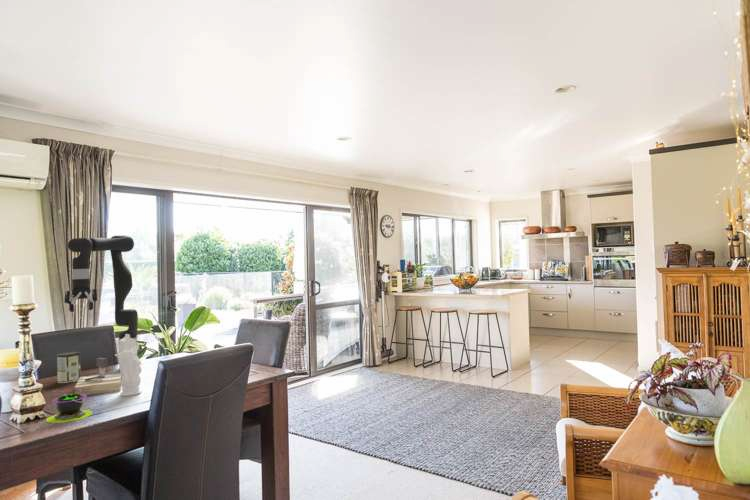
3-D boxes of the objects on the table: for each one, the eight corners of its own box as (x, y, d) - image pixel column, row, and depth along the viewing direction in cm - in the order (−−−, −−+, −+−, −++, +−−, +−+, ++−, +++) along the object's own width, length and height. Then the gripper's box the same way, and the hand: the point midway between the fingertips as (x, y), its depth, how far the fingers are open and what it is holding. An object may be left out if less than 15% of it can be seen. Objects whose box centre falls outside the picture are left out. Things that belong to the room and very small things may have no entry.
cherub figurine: (130, 397, 210) (129, 347, 210) (106, 397, 213) (104, 347, 213) (149, 390, 222) (147, 342, 222) (125, 389, 225) (124, 342, 225)
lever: (101, 376, 235) (100, 357, 236) (108, 377, 232) (107, 358, 232) (81, 380, 227) (81, 361, 228) (88, 381, 224) (88, 362, 225)
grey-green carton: (67, 378, 252) (66, 351, 253) (85, 378, 251) (85, 351, 252) (52, 383, 242) (51, 355, 243) (71, 383, 241) (70, 354, 242)
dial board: (79, 385, 236) (79, 376, 236) (121, 380, 244) (121, 371, 244) (74, 396, 215) (74, 387, 215) (120, 390, 223) (120, 381, 223)
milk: (124, 378, 249) (123, 335, 249) (120, 376, 253) (118, 334, 253) (136, 375, 253) (135, 333, 253) (132, 374, 257) (131, 332, 258)
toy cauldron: (98, 415, 186) (97, 386, 186) (53, 426, 175) (52, 395, 175) (84, 408, 196) (84, 381, 196) (41, 418, 185) (40, 389, 185)
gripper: (91, 277, 247) (92, 309, 246) (61, 278, 235) (62, 312, 235) (99, 277, 243) (100, 309, 242) (69, 278, 231) (69, 312, 230)
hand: (81, 311), depth 238 cm, fingers open, 8 cm apart
